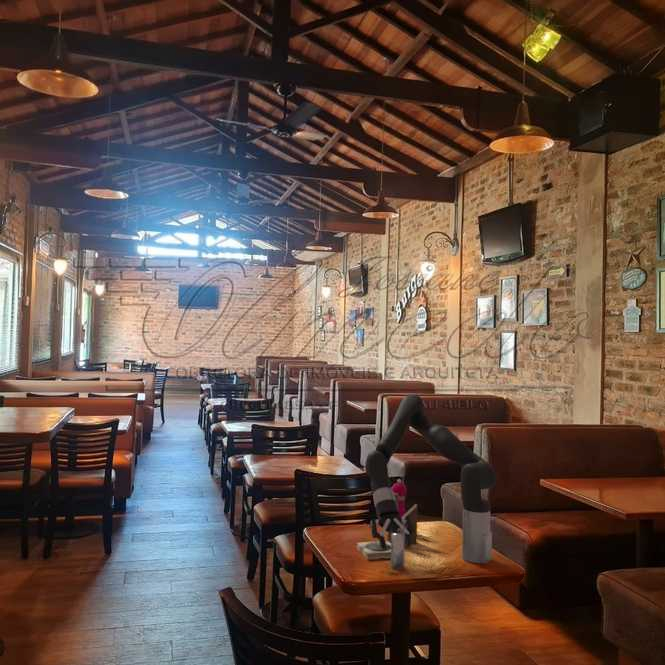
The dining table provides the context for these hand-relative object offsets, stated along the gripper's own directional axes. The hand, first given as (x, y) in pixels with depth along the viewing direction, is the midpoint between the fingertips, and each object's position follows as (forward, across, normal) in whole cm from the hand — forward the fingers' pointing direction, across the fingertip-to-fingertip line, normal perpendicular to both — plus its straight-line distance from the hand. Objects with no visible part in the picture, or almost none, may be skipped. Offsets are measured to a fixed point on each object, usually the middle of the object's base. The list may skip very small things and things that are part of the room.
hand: (396, 547), depth 197 cm
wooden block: (-12, -11, -21) cm, 27 cm away
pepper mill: (-22, -16, -33) cm, 43 cm away
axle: (+5, 0, -4) cm, 6 cm away
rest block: (-5, +2, -14) cm, 15 cm away
